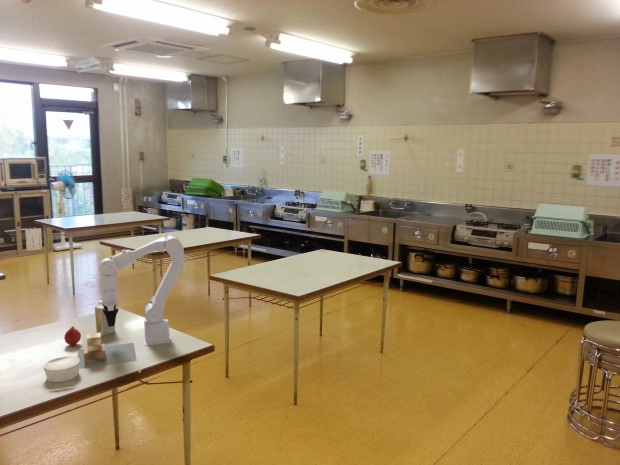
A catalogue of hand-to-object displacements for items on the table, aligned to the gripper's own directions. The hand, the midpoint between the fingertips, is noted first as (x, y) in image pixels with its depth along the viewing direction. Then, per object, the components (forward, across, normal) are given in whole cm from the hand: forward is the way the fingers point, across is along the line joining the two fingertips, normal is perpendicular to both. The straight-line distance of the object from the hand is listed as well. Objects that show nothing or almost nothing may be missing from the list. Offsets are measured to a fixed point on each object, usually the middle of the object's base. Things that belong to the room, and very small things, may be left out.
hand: (111, 323), depth 189 cm
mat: (+10, +8, -2) cm, 13 cm away
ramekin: (+10, +21, -17) cm, 29 cm away
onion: (+10, -7, -14) cm, 19 cm away
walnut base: (+9, +10, -6) cm, 15 cm away
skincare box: (+10, -16, -2) cm, 19 cm away
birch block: (+5, +10, -6) cm, 13 cm away
